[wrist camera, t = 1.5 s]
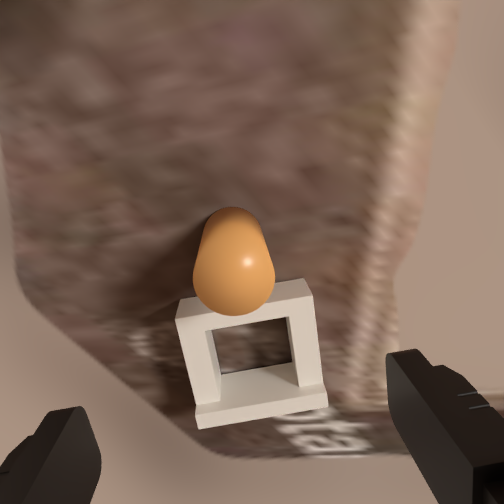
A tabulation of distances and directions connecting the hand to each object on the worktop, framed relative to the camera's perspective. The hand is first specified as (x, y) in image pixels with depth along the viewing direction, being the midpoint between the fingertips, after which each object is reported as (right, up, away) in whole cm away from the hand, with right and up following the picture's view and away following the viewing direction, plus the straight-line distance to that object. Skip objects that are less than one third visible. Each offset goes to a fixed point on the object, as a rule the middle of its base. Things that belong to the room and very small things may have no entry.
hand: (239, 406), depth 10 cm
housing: (0, -2, +19) cm, 19 cm away
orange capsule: (-1, +5, +16) cm, 17 cm away
